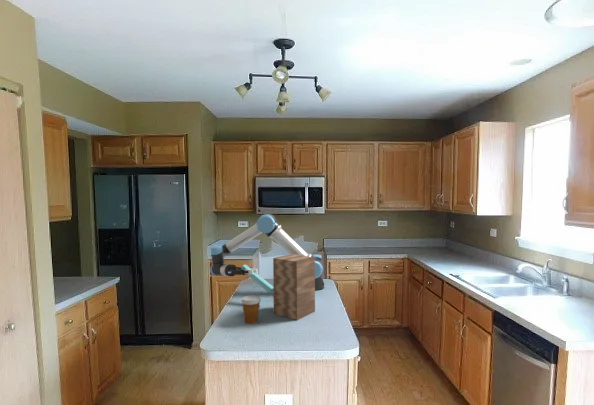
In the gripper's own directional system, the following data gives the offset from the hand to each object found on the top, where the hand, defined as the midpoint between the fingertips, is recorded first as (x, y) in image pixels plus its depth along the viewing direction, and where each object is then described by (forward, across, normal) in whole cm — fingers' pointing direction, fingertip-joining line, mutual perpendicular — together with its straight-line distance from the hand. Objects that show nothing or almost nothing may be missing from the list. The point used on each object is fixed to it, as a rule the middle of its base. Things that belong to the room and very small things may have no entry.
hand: (254, 271), depth 194 cm
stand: (+29, +1, -21) cm, 36 cm away
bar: (+1, 0, -5) cm, 5 cm away
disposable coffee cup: (+19, +24, -20) cm, 37 cm away
